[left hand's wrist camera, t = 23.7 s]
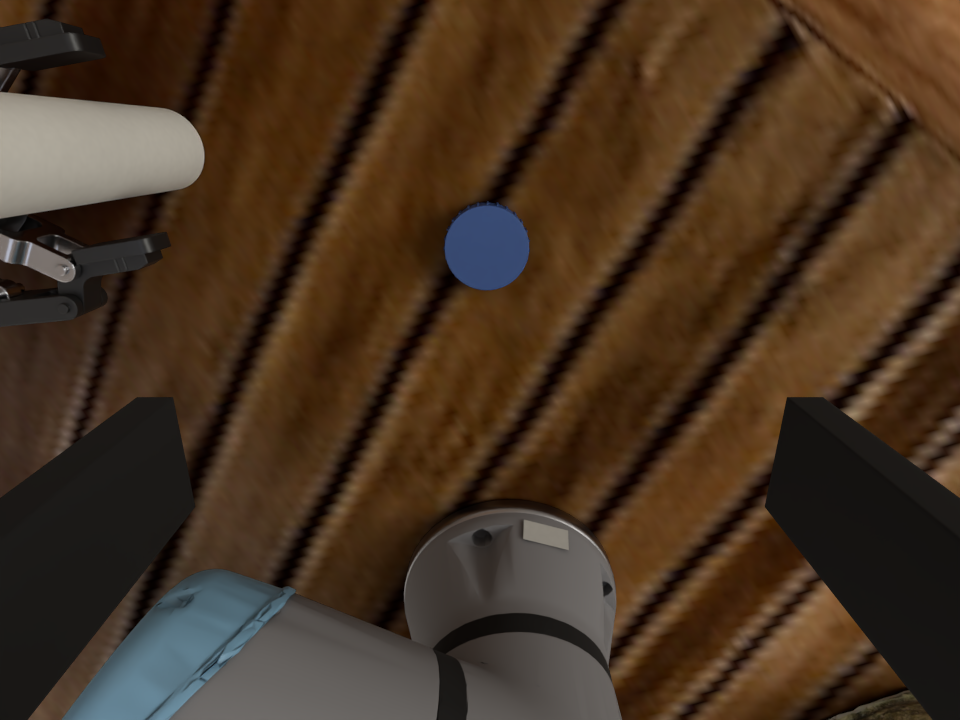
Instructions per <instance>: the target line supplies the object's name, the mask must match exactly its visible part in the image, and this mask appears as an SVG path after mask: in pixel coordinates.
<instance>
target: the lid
mask: <svg viewBox="0 0 960 720" xmlns="http://www.w3.org/2000/svg"><path fill="white" fill-rule="evenodd" d="M522 223H523V222H522V220H521V219H519V218H518V217H517V216H516V213H515V212H512V211H511V210H509V209H508V207H507V206H506V207H504V206H502V205H499V203H498V202H497V203H496V204H495V203H489V201H487V203H479V202H477V204H474V205H472V206H469V205H468V206H467V208H466V209H464V210H463V211H461V210H460V211H459V214H458V215H457V216H456V217H455V218H453V219H452V223H451V225H450V226H448V228H447V231H448V233H447V235H446V236H445V238H444V240H445V246H444V250H445V256H446V257H445V259H446V260H447V263H448V266H449V268H450V269H451V271H452V273H453V274H454V275H455V276H456V277H457V278H458V279H459V280H460V281H461V282H463V283H464V284H466V285H468V286H470V287H472V288H475V289H479V290H494V289H498V288H501V287H504V286H506V285H508V284H509V283H511V282H512V281H514V280H515V279H516V278H517V277H518V276H519V274H520V273H521V272H522V270H523V269H524V267H525V265H526V262H527V261H528V254H529V252H530V250H529V242H530V240H529V238H528V237H527V233H526V232H527V230H526V228H524V226H523V224H522Z"/></svg>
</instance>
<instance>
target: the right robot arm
mask: <svg viewBox="0 0 960 720" xmlns="http://www.w3.org/2000/svg"><path fill="white" fill-rule="evenodd" d="M105 57H106V55H105V52H104V49H103V47H102V44H101V41H100V39H99V38H96V37H92V36H88V35H84V33H83V30H82V28H80V27H76V26H72V25H69V24H65V23H62V22H58V21H54V20H49V19H43V20H38V21H35V22H27V23H22V24H17V25H12V26H7V27H0V92H5V93H8V90H9V89H10V87H11V85H12V84H13V82H14V80H15V79H16V77H17V75H18V74H19V72H20V70H21V69H22V70H29V71H37V70H43V69H48V68H53V67H59V66H64V65H69V64H75V63H80V62H86V61H91V60H96V59H101V58H105ZM170 246H171V244H170V241H169V238H168V235H167V232H162V233H156V234H150V235H144V236H138V237H132V238H126V239H120V240H114V241H108V242H102V243H98V244H94V245H90V246H89V245H87V244H85V243H83V242H80V241H78V240H76V239H74V238H72V237H70V236H68V235H66V234H65V230H64V229H63V228H61V227H59V226H57V225H55V224H53V223H51V222H48V221H46V220H44V219H42V218H40V217H38V216H36V215H34V214H32V213H31V214H25V215H19V216H13V217H7V218H1V219H0V260H2V261H5V262H7V263H12V264H22V265H26V266H28V267H30V268H32V269H34V270H37V271H39V272H41V273H43V274H45V275H47V276H50V277H52V278H54V279H56V280H57V282H58V288H50V289H40V290H30V291H25V287H24V286H23V285H22V284H21V283H15V282H13V281H11V280H8V279H1V278H0V327H2V326H12V325H23V324H33V323H44V322H54V321H65V320H72V319H74V318H76V317H79V316H81V315H83V314H85V313H88V312H90V311H92V310H95V309H97V308H99V307H101V306H103V305H105V304H106V302H107V299H108V297H107V293H106V292H105V290H104V289H103V288H102V287H101V279H102V276H103V275H107V274H113V273H119V272H125V271H131V270H138V269H141V268H144V267H147V266H149V265H152V264H154V263H156V262H158V261H159V260H161V259H162V258H163V256H162V254H161V251H160V250H161V249H164V248H167V247H170Z"/></svg>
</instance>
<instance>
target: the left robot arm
mask: <svg viewBox="0 0 960 720" xmlns="http://www.w3.org/2000/svg"><path fill="white" fill-rule="evenodd" d="M194 508H195V503H194V498H193V494H192V489H191V484H190V479H189V474H188V469H187V464H186V459H185V454H184V449H183V444H182V440H181V435H180V430H179V425H178V420H177V415H176V410H175V405H174V400H173V397H137V398H136V399H134V400H133V401H131V402H130V403H129V404H127V405H126V406H125V407H123V408H122V409H121V410H119V411H118V412H117V413H115V414H114V415H112V416H111V417H110V418H108V419H107V420H106V421H104V422H103V423H102V424H100V425H99V426H97V427H96V428H95V429H93V430H92V431H91V432H89V433H88V434H87V435H85V436H84V437H83V438H81V439H80V440H78V441H77V442H76V443H74V444H73V445H72V446H70V447H69V448H68V449H66V450H65V451H64V452H62V453H61V454H59V455H58V456H57V457H55V458H54V459H53V460H51V461H50V462H49V463H47V464H46V465H45V466H43V467H42V468H40V469H39V470H38V471H36V472H35V473H34V474H32V475H31V476H30V477H28V478H27V479H26V480H24V481H23V482H21V483H20V484H19V485H17V486H16V487H15V488H13V489H12V490H11V491H9V492H8V493H6V494H5V495H4V496H2V497H1V498H0V720H28V719H29V717H30V716H31V715H32V713H33V712H34V711H35V710H36V708H37V707H38V706H39V705H40V703H41V702H42V701H43V699H44V698H45V697H46V696H47V694H48V693H49V692H50V691H51V689H52V688H53V687H54V686H55V684H56V683H57V682H58V680H59V679H60V678H61V677H62V675H63V674H64V673H65V672H66V670H67V669H68V668H69V666H70V665H71V664H72V663H73V661H74V660H75V659H76V658H77V656H78V655H79V654H80V652H81V651H82V650H83V649H84V647H85V646H86V645H87V644H88V642H89V641H90V640H91V639H92V637H93V636H94V635H95V633H96V632H97V631H98V630H99V628H100V627H101V626H102V625H103V623H104V622H105V621H106V619H107V618H108V617H109V616H110V614H111V613H112V612H113V611H114V609H115V608H116V607H117V605H118V604H119V603H120V602H121V600H122V599H123V598H124V597H125V595H126V594H127V593H128V591H129V590H130V589H131V588H132V586H133V585H134V584H135V583H136V581H137V580H138V579H139V578H140V576H141V575H142V574H143V572H144V571H145V570H146V569H147V567H148V566H149V565H150V564H151V562H152V561H153V560H154V558H155V557H156V556H157V555H158V553H159V552H160V551H161V550H162V548H163V547H164V546H165V544H166V543H167V542H168V541H169V539H170V538H171V537H172V536H173V534H174V533H175V532H176V531H177V529H178V528H179V527H180V525H181V524H182V523H183V522H184V520H185V519H186V518H187V517H188V515H189V514H190V513H191V511H192V510H193V509H194ZM765 508H766V509H767V510H768V511H769V513H770V514H771V515H772V517H773V518H774V519H775V520H776V522H777V523H778V524H779V525H780V527H781V528H782V529H783V531H784V532H785V533H786V534H787V536H788V537H789V538H790V539H791V541H792V542H793V543H794V544H795V546H796V547H797V548H798V550H799V551H800V552H801V553H802V555H803V556H804V557H805V558H806V560H807V561H808V562H809V564H810V565H811V566H812V567H813V569H814V570H815V571H816V572H817V574H818V575H819V576H820V578H821V579H822V580H823V581H824V583H825V584H826V585H827V586H828V588H829V589H830V590H831V591H832V593H833V594H834V595H835V597H836V598H837V599H838V600H839V602H840V603H841V604H842V605H843V607H844V608H845V609H846V611H847V612H848V613H849V614H850V616H851V617H852V618H853V619H854V621H855V622H856V623H857V625H858V626H859V627H860V628H861V630H862V631H863V632H864V633H865V635H866V636H867V637H868V639H869V640H870V641H871V642H872V644H873V645H874V646H875V647H876V649H877V650H878V651H879V652H880V654H881V655H882V656H883V658H884V659H885V660H886V661H887V663H888V664H889V665H890V666H891V668H892V669H893V670H894V672H895V673H896V674H897V675H898V677H899V678H900V679H901V680H902V682H903V683H904V684H905V686H906V687H907V688H908V689H909V691H910V692H911V693H912V694H913V696H914V697H915V698H916V699H917V701H918V702H919V703H920V705H921V706H922V707H923V708H924V710H925V711H926V712H927V713H928V715H929V716H930V717H931V719H932V720H960V498H959V497H958V496H956V495H955V494H954V493H952V492H951V491H949V490H948V489H947V488H945V487H944V486H943V485H941V484H940V483H939V482H937V481H936V480H934V479H933V478H932V477H930V476H929V475H928V474H926V473H925V472H924V471H922V470H921V469H920V468H918V467H917V466H915V465H914V464H913V463H911V462H910V461H909V460H907V459H906V458H905V457H903V456H902V455H901V454H899V453H898V452H896V451H895V450H894V449H892V448H891V447H890V446H888V445H887V444H886V443H884V442H883V441H882V440H880V439H879V438H877V437H876V436H875V435H873V434H872V433H871V432H869V431H868V430H867V429H865V428H864V427H862V426H861V425H860V424H858V423H857V422H856V421H854V420H853V419H852V418H850V417H849V416H848V415H846V414H845V413H843V412H842V411H841V410H839V409H838V408H837V407H835V406H834V405H833V404H831V403H830V402H829V401H827V400H826V399H824V398H823V397H787V400H786V405H785V410H784V415H783V420H782V425H781V430H780V435H779V440H778V444H777V449H776V454H775V459H774V464H773V469H772V474H771V479H770V484H769V489H768V493H767V498H766V503H765ZM295 592H296V589H294V588H291V587H289V586H287V587H284V588H279V587H276V586H273V585H270V584H267V583H264V582H261V581H258V580H255V579H252V578H249V577H246V576H243V575H240V574H237V573H234V572H231V571H228V570H223V569H210V570H204V571H200V572H198V573H195V574H193V575H191V576H189V577H187V578H185V579H184V580H182V581H181V582H180V583H178V584H177V585H176V586H174V587H173V588H172V589H171V590H170V591H168V592H167V593H166V594H165V595H164V596H163V597H162V598H161V599H160V600H159V601H158V602H157V603H156V604H155V605H154V606H153V607H152V609H151V610H150V611H149V612H148V613H147V614H146V615H145V616H144V617H143V619H142V620H141V621H140V622H139V623H138V624H137V625H136V627H135V628H134V629H133V630H132V631H131V632H130V634H129V635H128V636H127V637H126V638H125V639H124V641H123V642H122V643H121V644H120V645H119V647H118V648H117V649H116V650H115V651H114V653H113V654H112V655H111V656H110V658H109V659H108V660H107V661H106V663H105V664H104V665H103V666H102V668H101V669H100V670H99V671H98V673H97V674H96V675H95V677H94V678H93V679H92V680H91V682H90V683H89V684H88V685H87V687H86V688H85V689H84V691H83V692H82V693H81V694H80V696H79V697H78V698H77V700H76V701H75V702H74V704H73V705H72V706H71V708H70V709H69V710H68V712H67V713H66V714H65V716H64V717H63V718H62V720H622V718H621V714H620V710H619V707H618V703H617V699H616V695H615V691H614V688H613V684H612V679H611V675H610V671H609V667H608V663H609V656H610V649H611V641H612V634H613V626H614V619H615V611H616V588H615V581H614V577H613V573H612V570H611V566H610V563H609V560H608V557H607V554H606V552H605V550H604V548H603V546H602V545H601V543H600V542H599V540H598V539H597V537H596V536H595V535H594V534H593V533H592V532H591V531H590V530H589V529H588V528H587V527H586V526H585V525H584V524H583V523H581V522H580V521H579V520H577V519H576V518H574V517H573V516H571V515H570V514H568V513H566V512H564V511H562V510H559V509H557V508H554V507H552V506H549V505H545V504H542V503H537V502H533V501H525V500H495V501H488V502H484V503H479V504H475V505H472V506H469V507H466V508H464V509H461V510H459V511H457V512H455V513H453V514H451V515H449V516H448V517H446V518H445V519H443V520H442V521H440V522H439V523H438V524H436V525H435V526H434V527H433V528H432V529H431V530H430V531H429V532H428V533H427V534H426V535H425V536H424V537H423V538H422V540H421V541H420V542H419V544H418V546H417V547H416V549H415V551H414V553H413V555H412V557H411V560H410V563H409V566H408V571H407V576H406V582H405V589H404V603H405V614H406V619H407V623H408V627H409V630H410V635H411V639H412V640H410V639H408V638H405V637H403V636H400V635H398V634H395V633H393V632H390V631H388V630H385V629H383V628H380V627H378V626H375V625H373V624H370V623H368V622H365V621H363V620H360V619H358V618H355V617H353V616H350V615H348V614H345V613H343V612H340V611H338V610H335V609H333V608H330V607H328V606H325V605H323V604H320V603H318V602H315V601H313V600H310V599H308V598H305V597H303V596H300V595H298V594H295Z"/></svg>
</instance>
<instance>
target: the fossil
mask: <svg viewBox="0 0 960 720" xmlns="http://www.w3.org/2000/svg"><path fill="white" fill-rule="evenodd" d="M828 720H932V719H931V717H930V716H929V715H928V713H927V712H926V711H925V710H924V708H923V707H922V706H921V705H920V703H919V702H918V701H917V699H916V698H915V697H914V696H913V694H912V693H911V692H910V691H909V690H907V691H903V692H901V693H899V694H896V695H893V696H889V697H886V698H883V699H880V700H877V701H875V702H872V703H869V704H866V705H862V706H859V707H858V708H856V709H855V710H854V711H851V712H847V713H843V714H839V715H837V716H834V717H832V718H830V719H828Z"/></svg>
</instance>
